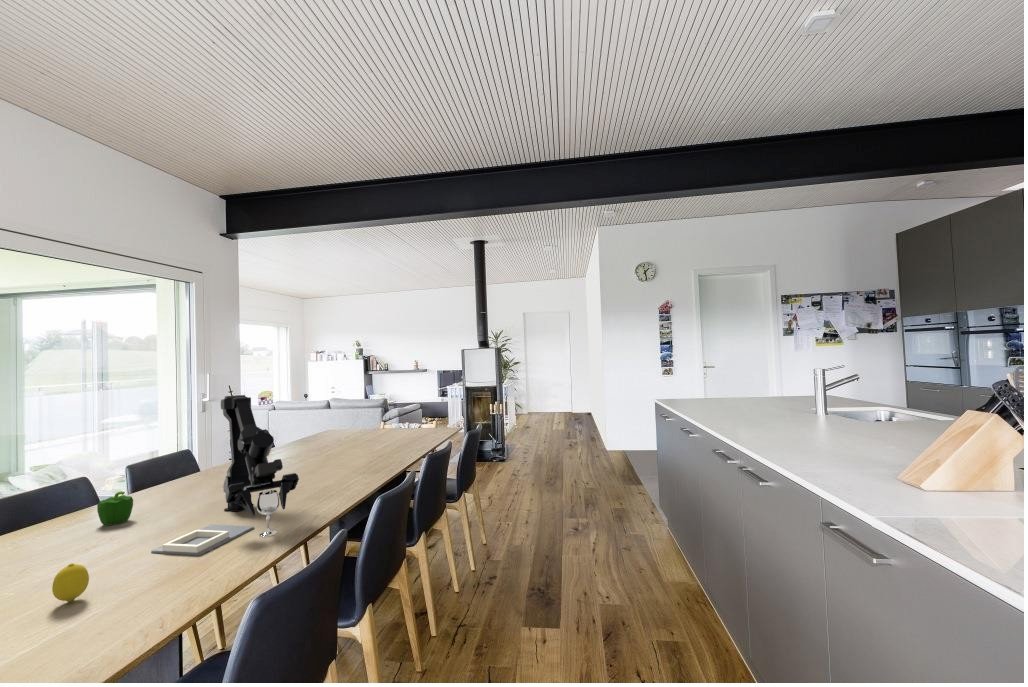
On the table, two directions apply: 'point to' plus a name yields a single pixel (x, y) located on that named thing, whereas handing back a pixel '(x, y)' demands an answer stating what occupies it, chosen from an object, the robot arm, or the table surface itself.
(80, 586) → the lemon
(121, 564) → the table surface
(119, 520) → the bell pepper
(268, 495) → the wineglass
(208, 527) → the square frame board
